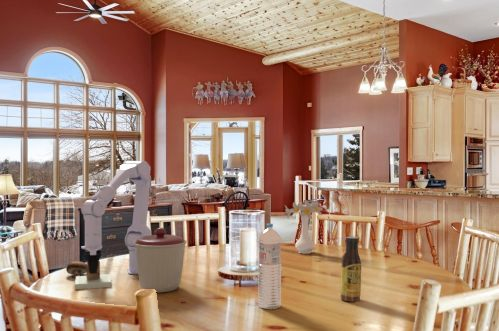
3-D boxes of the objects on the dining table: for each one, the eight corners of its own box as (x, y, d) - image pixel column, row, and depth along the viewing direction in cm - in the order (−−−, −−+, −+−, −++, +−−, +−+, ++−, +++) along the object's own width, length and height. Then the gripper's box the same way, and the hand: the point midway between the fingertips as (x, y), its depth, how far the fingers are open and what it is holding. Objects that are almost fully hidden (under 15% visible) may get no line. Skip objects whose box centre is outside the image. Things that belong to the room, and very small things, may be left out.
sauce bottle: (347, 303, 149) (348, 239, 149) (336, 298, 155) (336, 236, 155) (365, 301, 152) (365, 238, 151) (353, 296, 157) (353, 235, 157)
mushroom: (79, 271, 179) (79, 255, 182) (61, 278, 180) (61, 262, 184) (92, 277, 185) (92, 262, 189) (75, 283, 187) (75, 269, 190)
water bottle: (257, 303, 149) (257, 222, 149) (279, 302, 150) (279, 222, 149) (259, 310, 142) (259, 225, 142) (282, 309, 143) (282, 225, 143)
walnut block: (99, 274, 175) (99, 261, 175) (99, 277, 171) (99, 263, 171) (86, 275, 174) (86, 261, 174) (86, 278, 170) (86, 264, 170)
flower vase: (282, 250, 238) (282, 199, 237) (319, 250, 239) (319, 199, 239) (287, 255, 225) (287, 202, 224) (325, 255, 226) (326, 201, 226)
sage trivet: (110, 278, 180) (110, 274, 180) (111, 286, 169) (111, 281, 169) (76, 281, 176) (76, 276, 176) (74, 289, 165) (74, 284, 165)
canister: (193, 284, 173) (193, 225, 173) (176, 297, 155) (176, 232, 155) (146, 281, 176) (146, 223, 176) (123, 294, 159) (123, 230, 159)
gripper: (81, 231, 178) (82, 268, 178) (80, 237, 164) (80, 277, 164) (101, 230, 180) (102, 266, 180) (102, 236, 166) (102, 275, 166)
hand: (93, 271), depth 172 cm, fingers closed on walnut block, 4 cm apart
